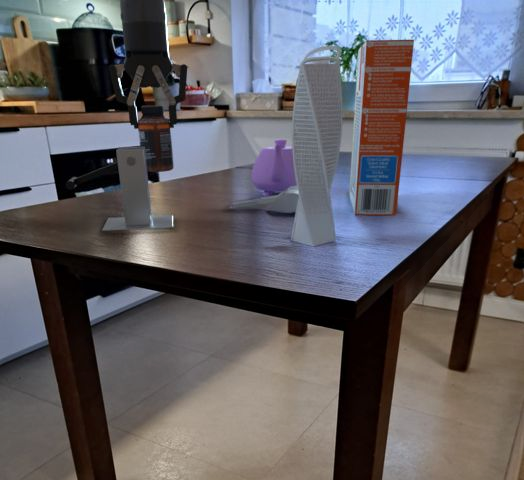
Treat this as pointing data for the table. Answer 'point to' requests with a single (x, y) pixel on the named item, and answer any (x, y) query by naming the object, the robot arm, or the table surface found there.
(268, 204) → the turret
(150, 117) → the supplement bottle
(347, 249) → the table surface
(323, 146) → the skyscraper
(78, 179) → the lever
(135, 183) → the upright plaque on base
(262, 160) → the teapot
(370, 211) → the orange cereal box
